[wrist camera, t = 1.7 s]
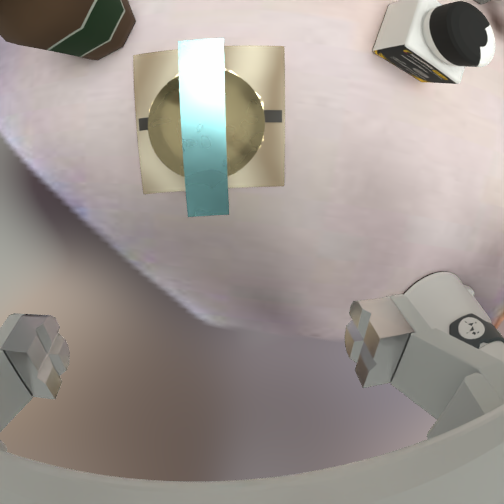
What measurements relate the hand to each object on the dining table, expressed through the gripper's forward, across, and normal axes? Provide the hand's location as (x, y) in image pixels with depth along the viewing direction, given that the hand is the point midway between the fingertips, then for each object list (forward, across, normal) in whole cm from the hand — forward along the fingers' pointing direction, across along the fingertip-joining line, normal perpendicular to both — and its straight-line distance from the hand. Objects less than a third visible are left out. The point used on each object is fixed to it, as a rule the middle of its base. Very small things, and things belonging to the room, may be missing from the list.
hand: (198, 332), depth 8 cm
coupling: (+23, 0, -4) cm, 23 cm away
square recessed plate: (+26, 0, -4) cm, 26 cm away
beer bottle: (+26, +11, -15) cm, 32 cm away
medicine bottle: (+26, -21, -14) cm, 36 cm away
